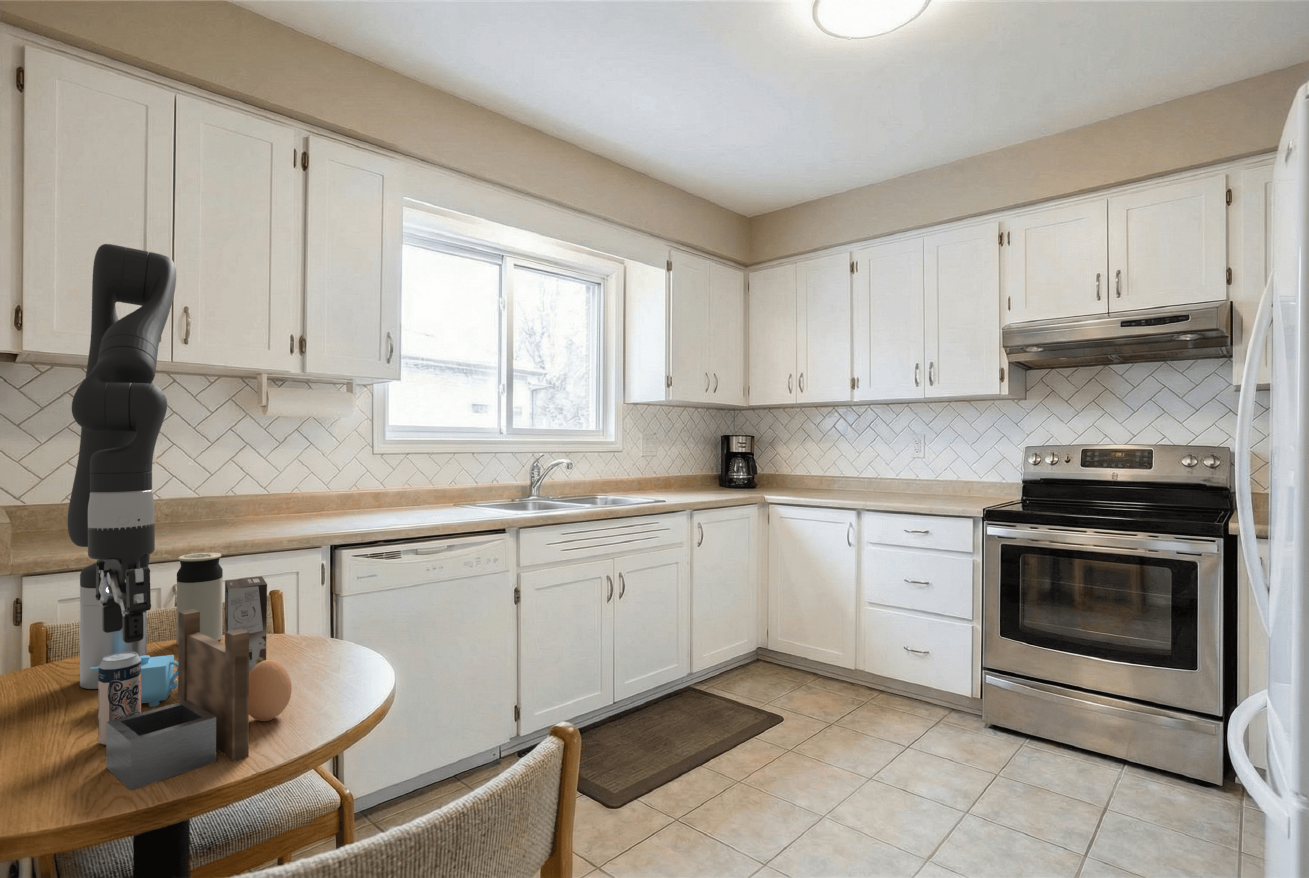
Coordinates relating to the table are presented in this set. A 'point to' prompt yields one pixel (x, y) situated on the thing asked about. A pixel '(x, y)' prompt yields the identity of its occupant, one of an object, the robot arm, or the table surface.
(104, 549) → the robot arm
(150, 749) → the post bracket
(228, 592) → the coffee box
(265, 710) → the egg
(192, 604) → the travel mug
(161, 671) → the teapot
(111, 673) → the beer can
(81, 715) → the table surface
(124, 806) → the table surface
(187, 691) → the headboard panel
